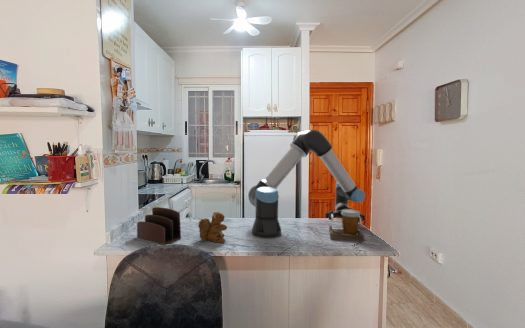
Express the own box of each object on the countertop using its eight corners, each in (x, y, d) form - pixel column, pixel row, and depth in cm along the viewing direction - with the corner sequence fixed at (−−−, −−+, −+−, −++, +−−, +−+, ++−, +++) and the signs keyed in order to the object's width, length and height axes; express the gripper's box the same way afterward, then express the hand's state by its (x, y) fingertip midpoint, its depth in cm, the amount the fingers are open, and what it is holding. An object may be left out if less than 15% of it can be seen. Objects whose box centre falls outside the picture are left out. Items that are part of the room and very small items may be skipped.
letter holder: (154, 231, 139) (153, 205, 138) (181, 238, 129) (181, 210, 128) (136, 237, 130) (136, 209, 129) (164, 245, 121) (164, 214, 120)
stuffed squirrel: (226, 243, 124) (226, 215, 123) (195, 243, 123) (195, 215, 122) (227, 235, 134) (227, 210, 133) (199, 236, 133) (199, 210, 132)
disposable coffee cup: (356, 231, 142) (357, 209, 141) (362, 237, 132) (363, 213, 131) (338, 230, 142) (339, 208, 142) (342, 236, 133) (343, 213, 132)
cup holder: (329, 229, 146) (329, 224, 146) (358, 231, 143) (358, 226, 143) (330, 239, 131) (330, 233, 131) (363, 241, 128) (363, 236, 128)
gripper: (365, 218, 153) (372, 229, 132) (320, 215, 158) (320, 226, 137) (365, 205, 152) (373, 214, 132) (321, 203, 157) (321, 211, 137)
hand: (346, 220), depth 134 cm, fingers open, 13 cm apart
